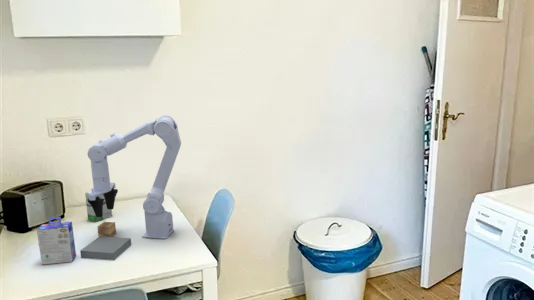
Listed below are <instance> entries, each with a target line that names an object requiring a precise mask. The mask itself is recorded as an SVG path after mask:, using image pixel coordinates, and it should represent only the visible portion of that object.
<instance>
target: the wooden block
mask: <svg viewBox="0 0 534 300" xmlns="http://www.w3.org/2000/svg"><path fill="white" fill-rule="evenodd" d="M97 233H98V237H99V236H107V237H116V236H117V227H116V222H115V221H103V222H101V223H100V224H98V226H97ZM115 235H116V236H115Z"/></svg>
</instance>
